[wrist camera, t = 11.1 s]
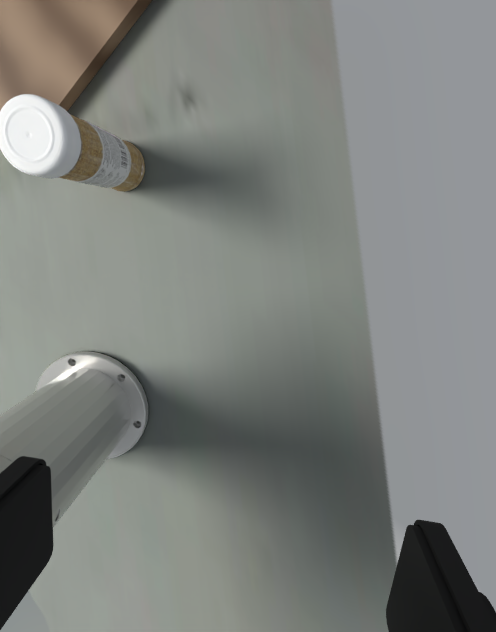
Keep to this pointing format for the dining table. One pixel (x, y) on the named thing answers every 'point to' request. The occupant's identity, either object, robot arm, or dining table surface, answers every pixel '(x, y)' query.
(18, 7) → the dial board
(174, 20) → the dining table surface
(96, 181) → the sprinkles bottle
